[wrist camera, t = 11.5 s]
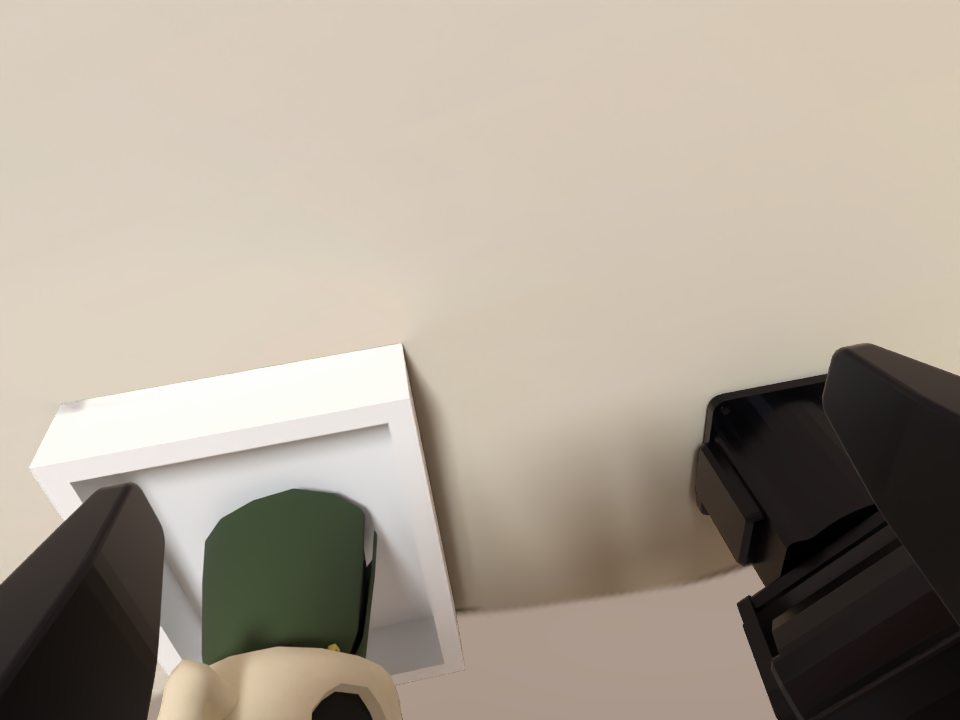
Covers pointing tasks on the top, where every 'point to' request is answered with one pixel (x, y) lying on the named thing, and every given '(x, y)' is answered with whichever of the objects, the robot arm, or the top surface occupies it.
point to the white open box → (274, 484)
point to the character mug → (285, 618)
